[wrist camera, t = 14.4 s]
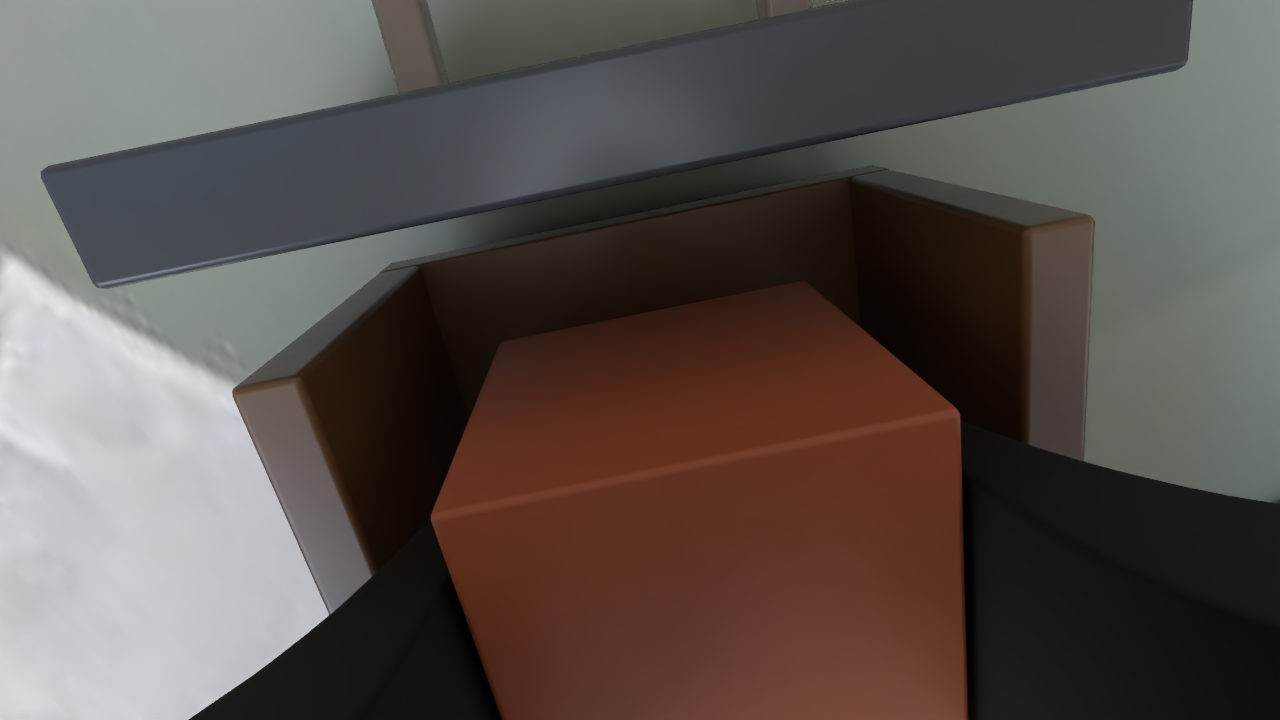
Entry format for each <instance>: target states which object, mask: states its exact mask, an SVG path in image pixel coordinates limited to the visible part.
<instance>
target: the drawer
mask: <svg viewBox="0 0 1280 720" xmlns="http://www.w3.org/2000/svg"><path fill="white" fill-rule="evenodd" d="M371 1H372V4H373V7H374V11H375V14H376V17H377V21H378V24H379V28H380V31H381V34H382V38H383V41H384V44H385V48H386V51H387V55H388V58H389V61H390V65H391V68H392V71H393V75H394V78H395V82H396V85H397V88H398V92H399V94H395V95H390V96H385V97H380V98H376V99H371V100H366V101H361V102H356V103H351V104H346V105H342V106H337V107H332V108H327V109H322V110H317V111H313V112H308V113H303V114H298V115H293V116H288V117H283V118H279V119H274V120H269V121H264V122H259V123H254V124H249V125H245V126H240V127H235V128H230V129H225V130H220V131H216V132H211V133H206V134H201V135H196V136H191V137H186V138H182V139H177V140H172V141H167V142H162V143H157V144H152V145H148V146H143V147H138V148H133V149H128V150H123V151H119V152H114V153H109V154H104V155H99V156H94V157H89V158H85V159H80V160H75V161H70V162H65V163H60V164H55V165H51V166H48V167H46V168H45V169H44V170H42V171H41V178H42V180H43V182H44V184H45V186H46V188H47V191H48V193H49V195H50V197H51V199H52V201H53V203H54V205H55V207H56V209H57V211H58V213H59V215H60V217H61V219H62V221H63V223H64V225H65V227H66V229H67V231H68V233H69V235H70V237H71V239H72V241H73V243H74V245H75V248H76V250H77V252H78V254H79V256H80V258H81V260H82V262H83V264H84V266H85V268H86V270H87V272H88V274H89V276H90V278H91V280H92V282H93V284H94V285H95V286H96V287H97V288H105V289H110V288H115V287H119V286H124V285H129V284H134V283H139V282H144V281H149V280H154V279H159V278H163V277H168V276H173V275H178V274H183V273H188V272H193V271H198V270H203V269H208V268H212V267H217V266H222V265H227V264H232V263H237V262H242V261H247V260H252V259H257V258H261V257H266V256H271V255H276V254H281V253H286V252H291V251H296V250H301V249H305V248H310V247H315V246H320V245H325V244H330V243H335V242H340V241H345V240H350V239H354V238H359V237H364V236H369V235H374V234H379V233H384V232H389V231H394V230H399V229H403V228H408V227H413V226H418V225H423V224H428V223H433V222H438V221H443V220H448V219H452V218H457V217H462V216H467V215H472V214H477V213H482V212H487V211H492V210H496V209H501V208H506V207H511V206H516V205H521V204H526V203H531V202H536V201H541V200H545V199H550V198H555V197H560V196H565V195H570V194H575V193H580V192H585V191H590V190H594V189H599V188H604V187H609V186H614V185H619V184H624V183H629V182H634V181H639V180H643V179H648V178H653V177H658V176H663V175H668V174H673V173H678V172H683V171H687V170H692V169H697V168H702V167H707V166H712V165H717V164H722V163H727V162H732V161H736V160H741V159H746V158H751V157H756V156H761V155H766V154H771V153H776V152H781V151H785V150H790V149H795V148H800V147H805V146H810V145H815V144H820V143H825V142H830V141H834V140H839V139H844V138H849V137H854V136H859V135H864V134H869V133H874V132H878V131H883V130H888V129H893V128H898V127H903V126H908V125H913V124H918V123H923V122H927V121H932V120H937V119H942V118H947V117H952V116H957V115H962V114H967V113H972V112H976V111H981V110H986V109H991V108H996V107H1001V106H1006V105H1011V104H1016V103H1021V102H1025V101H1030V100H1035V99H1040V98H1045V97H1050V96H1055V95H1060V94H1065V93H1069V92H1074V91H1079V90H1084V89H1089V88H1094V87H1099V86H1104V85H1109V84H1114V83H1118V82H1123V81H1128V80H1133V79H1138V78H1143V77H1148V76H1153V75H1158V74H1163V73H1167V72H1172V71H1176V70H1178V69H1180V68H1181V67H1183V66H1185V65H1186V62H1187V60H1188V51H1189V40H1190V28H1191V17H1192V5H1193V0H851V1H846V2H841V3H836V4H831V5H827V6H822V7H817V8H812V9H811V5H810V0H756V1H757V9H758V18H759V20H754V21H749V22H744V23H739V24H734V25H730V26H725V27H720V28H715V29H710V30H705V31H700V32H696V33H691V34H686V35H681V36H676V37H671V38H667V39H662V40H657V41H652V42H647V43H642V44H637V45H633V46H628V47H623V48H618V49H613V50H608V51H603V52H599V53H594V54H589V55H584V56H579V57H574V58H570V59H565V60H560V61H555V62H550V63H545V64H540V65H536V66H531V67H526V68H521V69H516V70H511V71H507V72H502V73H497V74H492V75H487V76H482V77H477V78H473V79H468V80H463V81H458V82H453V83H449V81H448V78H447V74H446V70H445V66H444V63H443V59H442V55H441V52H440V48H439V44H438V41H437V37H436V33H435V30H434V26H433V22H432V18H431V15H430V11H429V7H428V4H427V0H371ZM1094 227H1095V222H1094V219H1093V217H1092V216H1091V215H1087V214H1082V213H1078V212H1073V211H1069V210H1065V209H1060V208H1056V207H1051V206H1047V205H1042V204H1038V203H1034V202H1029V201H1025V200H1020V199H1016V198H1011V197H1007V196H1003V195H998V194H994V193H989V192H985V191H980V190H976V189H972V188H967V187H963V186H958V185H954V184H949V183H945V182H941V181H936V180H932V179H927V178H923V177H918V176H914V175H910V174H905V173H901V172H896V171H892V170H889V169H887V168H882V167H878V166H873V165H871V166H866V167H861V168H856V169H852V170H847V171H842V172H837V173H832V174H827V175H822V176H817V177H812V178H807V179H802V180H798V181H793V182H788V183H783V184H778V185H773V186H768V187H763V188H758V189H753V190H748V191H744V192H739V193H734V194H729V195H724V196H719V197H714V198H709V199H704V200H699V201H694V202H690V203H685V204H680V205H675V206H670V207H665V208H660V209H655V210H650V211H645V212H640V213H636V214H631V215H626V216H621V217H616V218H611V219H606V220H601V221H596V222H591V223H586V224H582V225H577V226H572V227H567V228H562V229H557V230H552V231H547V232H542V233H537V234H532V235H528V236H523V237H518V238H513V239H508V240H503V241H498V242H493V243H488V244H483V245H478V246H474V247H469V248H464V249H459V250H454V251H449V252H444V253H439V254H434V255H429V256H424V257H420V258H415V259H410V260H405V261H400V262H395V263H391V264H390V265H389V266H387V267H386V268H385V269H384V270H382V271H381V272H380V274H378V275H377V276H376V277H375V278H373V279H372V280H371V281H370V282H368V283H367V284H366V285H364V286H363V287H362V288H361V289H359V290H358V291H357V292H356V293H354V294H353V295H352V296H351V297H349V298H348V299H347V300H345V301H344V302H343V303H342V304H340V305H339V306H338V307H337V308H335V309H334V310H333V311H332V312H330V313H329V314H328V315H326V316H325V317H324V318H323V319H321V320H320V321H319V322H318V323H316V324H315V325H314V326H312V327H311V328H310V329H309V330H307V331H306V332H305V333H304V334H302V335H301V336H300V337H299V338H297V339H296V340H295V341H293V342H292V343H291V344H290V345H288V346H287V347H286V348H285V349H283V350H282V351H281V352H280V353H278V354H277V355H276V356H274V357H273V358H272V359H271V360H269V361H268V362H267V363H266V364H264V365H263V366H262V367H260V368H259V369H258V370H257V371H255V372H254V373H253V374H252V375H250V376H249V377H248V378H247V379H245V380H244V381H243V382H241V383H240V384H239V385H238V386H236V387H235V388H234V389H233V391H232V392H233V398H234V400H235V403H236V405H237V407H238V409H239V412H240V414H241V416H242V418H243V421H244V423H245V425H246V427H247V430H248V432H249V434H250V436H251V439H252V441H253V443H254V445H255V448H256V450H257V452H258V454H259V457H260V459H261V461H262V463H263V466H264V468H265V470H266V473H267V475H268V477H269V479H270V482H271V484H272V486H273V488H274V491H275V493H276V495H277V497H278V500H279V502H280V504H281V506H282V509H283V511H284V513H285V515H286V518H287V520H288V522H289V524H290V527H291V529H292V531H293V533H294V536H295V538H296V540H297V542H298V545H299V547H300V549H301V551H302V554H303V556H304V558H305V561H306V563H307V565H308V567H309V570H310V572H311V574H312V576H313V579H314V581H315V583H316V585H317V588H318V590H319V592H320V594H321V597H322V599H323V601H324V603H325V606H326V608H327V610H328V612H329V615H330V614H331V613H333V612H334V611H335V610H336V609H337V608H338V607H340V606H341V605H342V604H343V603H344V602H345V601H346V600H347V599H348V598H349V597H350V596H352V595H353V594H354V593H355V592H356V591H357V590H358V589H359V588H360V587H361V586H362V585H363V584H364V583H366V582H367V581H368V580H369V579H370V578H371V577H372V576H373V575H374V574H375V573H376V572H377V571H378V570H380V569H381V568H382V567H383V566H384V565H385V564H386V563H387V562H388V561H389V560H390V559H391V558H392V557H394V556H395V555H396V554H397V553H398V552H399V551H400V550H401V549H402V548H403V547H404V546H405V544H406V543H407V542H408V541H409V540H410V539H411V538H412V537H413V536H414V535H415V534H416V533H417V532H418V531H419V530H420V529H421V528H422V527H423V526H424V525H425V524H426V523H427V522H428V521H429V520H430V519H431V513H432V511H433V508H434V506H435V503H436V501H437V498H438V496H439V493H440V491H441V488H442V486H443V483H444V481H445V478H446V476H447V473H448V471H449V468H450V466H451V463H452V461H453V458H454V456H455V453H456V451H457V448H458V446H459V443H460V441H461V438H462V436H463V433H464V431H465V428H466V426H467V424H468V421H469V419H470V416H471V414H472V411H473V409H474V406H475V404H476V401H477V399H478V396H479V394H480V391H481V389H482V386H483V384H484V381H485V379H486V376H487V374H488V371H489V369H490V366H491V364H492V361H493V359H494V356H495V354H496V351H497V349H498V346H499V344H500V343H501V342H503V341H508V340H513V339H518V338H523V337H527V336H532V335H537V334H542V333H547V332H552V331H557V330H562V329H567V328H572V327H577V326H582V325H587V324H592V323H597V322H602V321H607V320H612V319H617V318H621V317H626V316H631V315H636V314H641V313H646V312H651V311H656V310H661V309H666V308H671V307H676V306H681V305H686V304H691V303H696V302H701V301H706V300H711V299H715V298H720V297H725V296H730V295H735V294H740V293H745V292H750V291H755V290H760V289H765V288H770V287H775V286H780V285H785V284H790V283H795V282H800V281H806V282H807V283H809V284H810V285H811V286H812V287H813V288H815V289H816V290H817V291H818V292H819V293H820V294H822V295H823V296H824V297H825V298H826V299H828V300H829V301H830V302H831V303H832V304H834V305H835V306H836V307H837V308H838V309H839V310H841V311H842V312H843V313H844V314H845V315H847V316H848V317H849V318H850V319H851V320H852V321H854V322H855V323H856V324H857V325H858V326H860V327H861V328H862V329H863V330H864V331H866V332H867V333H868V334H869V335H870V336H871V337H873V338H874V339H875V340H876V341H877V342H879V343H880V344H881V345H882V346H883V347H884V348H886V349H887V350H888V351H889V352H890V353H892V354H893V355H894V356H895V357H896V358H898V359H899V360H900V361H901V362H902V363H903V364H905V365H906V366H907V367H908V368H909V369H911V370H912V371H913V372H914V373H915V374H916V375H918V376H919V377H920V378H921V379H922V380H924V381H925V382H926V383H927V384H928V385H930V386H931V387H932V388H933V389H934V390H935V391H937V392H938V393H939V394H940V395H941V396H943V397H944V398H945V399H946V400H947V401H948V402H950V403H951V404H952V405H953V406H954V407H956V408H957V410H958V412H959V413H960V420H961V421H964V422H966V423H969V424H972V425H974V426H977V427H980V428H983V429H985V430H988V431H991V432H994V433H997V434H999V435H1002V436H1005V437H1008V438H1011V439H1014V440H1017V441H1020V442H1023V443H1026V444H1029V445H1032V446H1035V447H1038V448H1041V449H1044V450H1047V451H1051V452H1054V453H1057V454H1061V455H1064V456H1067V457H1070V458H1074V459H1077V460H1080V461H1083V462H1084V443H1085V422H1086V400H1087V378H1088V357H1089V335H1090V313H1091V292H1092V270H1093V248H1094ZM968 720H971V718H970V717H969V715H968Z"/></svg>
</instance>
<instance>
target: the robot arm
mask: <svg viewBox="0 0 1280 720" xmlns="http://www.w3.org/2000/svg"><path fill="white" fill-rule="evenodd" d="M960 425H961V463H962V500H963V537H964V575H965V612H966V650H967V687H968V715H969V717H970V718H971V720H1280V504H1274V503H1268V502H1263V501H1257V500H1251V499H1245V498H1239V497H1233V496H1228V495H1223V494H1218V493H1213V492H1208V491H1202V490H1197V489H1193V488H1188V487H1183V486H1179V485H1175V484H1171V483H1166V482H1162V481H1158V480H1154V479H1149V478H1145V477H1141V476H1137V475H1132V474H1128V473H1124V472H1120V471H1116V470H1112V469H1109V468H1105V467H1101V466H1097V465H1094V464H1090V463H1087V462H1083V461H1080V460H1077V459H1074V458H1070V457H1067V456H1064V455H1061V454H1057V453H1054V452H1051V451H1047V450H1044V449H1041V448H1038V447H1035V446H1032V445H1029V444H1026V443H1023V442H1020V441H1017V440H1014V439H1011V438H1008V437H1005V436H1002V435H999V434H997V433H994V432H991V431H988V430H985V429H983V428H980V427H977V426H974V425H972V424H969V423H966V422H964V421H961V420H960ZM189 720H502V719H501V716H500V713H499V711H498V708H497V705H496V702H495V699H494V697H493V694H492V691H491V688H490V685H489V682H488V680H487V677H486V674H485V671H484V668H483V666H482V663H481V660H480V657H479V654H478V651H477V649H476V646H475V643H474V640H473V637H472V634H471V632H470V629H469V626H468V623H467V620H466V618H465V615H464V612H463V609H462V606H461V603H460V601H459V598H458V595H457V592H456V589H455V587H454V584H453V581H452V578H451V575H450V572H449V570H448V567H447V564H446V561H445V558H444V556H443V553H442V550H441V547H440V544H439V541H438V539H437V536H436V533H435V530H434V527H433V525H432V522H431V519H430V520H429V521H428V522H427V523H426V524H425V525H424V526H423V527H422V528H421V529H420V530H419V531H418V532H417V533H416V534H415V535H414V536H413V537H412V538H411V539H410V540H409V541H408V542H407V543H406V544H405V546H404V547H403V548H402V549H401V550H400V551H399V552H398V553H397V554H396V555H395V556H394V557H392V558H391V559H390V560H389V561H388V562H387V563H386V564H385V565H384V566H383V567H382V568H381V569H380V570H378V571H377V572H376V573H375V574H374V575H373V576H372V577H371V578H370V579H369V580H368V581H367V582H366V583H364V584H363V585H362V586H361V587H360V588H359V589H358V590H357V591H356V592H355V593H354V594H353V595H352V596H350V597H349V598H348V599H347V600H346V601H345V602H344V603H343V604H342V605H341V606H340V607H338V608H337V609H336V610H335V611H334V612H333V613H331V614H330V615H329V616H328V617H327V618H326V619H324V620H323V621H322V622H321V623H320V624H318V625H317V626H316V627H315V628H314V629H312V630H311V631H310V632H309V633H308V634H306V635H305V636H304V637H302V638H301V639H300V640H299V641H297V642H296V643H295V644H293V645H292V646H291V647H290V648H288V649H287V650H286V651H285V652H283V653H282V654H281V655H279V656H278V657H277V658H276V659H274V660H273V661H272V662H270V663H269V664H268V665H266V666H265V667H264V668H262V669H261V670H260V671H258V672H257V673H256V674H254V675H253V676H251V677H250V678H249V679H247V680H246V681H244V682H243V683H241V684H240V685H238V686H237V687H235V688H234V689H233V690H231V691H230V692H228V693H227V694H225V695H224V696H222V697H221V698H219V699H218V700H217V701H215V702H214V703H212V704H211V705H209V706H208V707H206V708H205V709H203V710H202V711H201V712H199V713H198V714H196V715H195V716H193V717H192V718H190V719H189Z"/></svg>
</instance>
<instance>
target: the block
mask: <svg viewBox="0 0 1280 720" xmlns="http://www.w3.org/2000/svg"><path fill="white" fill-rule="evenodd" d="M431 522H432V525H433V527H434V530H435V533H436V536H437V539H438V541H439V544H440V547H441V550H442V553H443V556H444V558H445V561H446V564H447V567H448V570H449V572H450V575H451V578H452V581H453V584H454V587H455V589H456V592H457V595H458V598H459V601H460V603H461V606H462V609H463V612H464V615H465V618H466V620H467V623H468V626H469V629H470V632H471V634H472V637H473V640H474V643H475V646H476V649H477V651H478V654H479V657H480V660H481V663H482V666H483V668H484V671H485V674H486V677H487V680H488V682H489V685H490V688H491V691H492V694H493V697H494V699H495V702H496V705H497V708H498V711H499V713H500V716H501V719H502V720H968V687H967V650H966V612H965V575H964V537H963V500H962V463H961V425H960V413H959V412H958V410H957V408H956V407H954V406H953V405H952V404H951V403H950V402H948V401H947V400H946V399H945V398H944V397H943V396H941V395H940V394H939V393H938V392H937V391H935V390H934V389H933V388H932V387H931V386H930V385H928V384H927V383H926V382H925V381H924V380H922V379H921V378H920V377H919V376H918V375H916V374H915V373H914V372H913V371H912V370H911V369H909V368H908V367H907V366H906V365H905V364H903V363H902V362H901V361H900V360H899V359H898V358H896V357H895V356H894V355H893V354H892V353H890V352H889V351H888V350H887V349H886V348H884V347H883V346H882V345H881V344H880V343H879V342H877V341H876V340H875V339H874V338H873V337H871V336H870V335H869V334H868V333H867V332H866V331H864V330H863V329H862V328H861V327H860V326H858V325H857V324H856V323H855V322H854V321H852V320H851V319H850V318H849V317H848V316H847V315H845V314H844V313H843V312H842V311H841V310H839V309H838V308H837V307H836V306H835V305H834V304H832V303H831V302H830V301H829V300H828V299H826V298H825V297H824V296H823V295H822V294H820V293H819V292H818V291H817V290H816V289H815V288H813V287H812V286H811V285H810V284H809V283H807V282H806V281H800V282H795V283H790V284H785V285H780V286H775V287H770V288H765V289H760V290H755V291H750V292H745V293H740V294H735V295H730V296H725V297H720V298H715V299H711V300H706V301H701V302H696V303H691V304H686V305H681V306H676V307H671V308H666V309H661V310H656V311H651V312H646V313H641V314H636V315H631V316H626V317H621V318H617V319H612V320H607V321H602V322H597V323H592V324H587V325H582V326H577V327H572V328H567V329H562V330H557V331H552V332H547V333H542V334H537V335H532V336H527V337H523V338H518V339H513V340H508V341H503V342H501V343H500V344H499V346H498V349H497V351H496V354H495V356H494V359H493V361H492V364H491V366H490V369H489V371H488V374H487V376H486V379H485V381H484V384H483V386H482V389H481V391H480V394H479V396H478V399H477V401H476V404H475V406H474V409H473V411H472V414H471V416H470V419H469V421H468V424H467V426H466V428H465V431H464V433H463V436H462V438H461V441H460V443H459V446H458V448H457V451H456V453H455V456H454V458H453V461H452V463H451V466H450V468H449V471H448V473H447V476H446V478H445V481H444V483H443V486H442V488H441V491H440V493H439V496H438V498H437V501H436V503H435V506H434V508H433V511H432V513H431Z"/></svg>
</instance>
